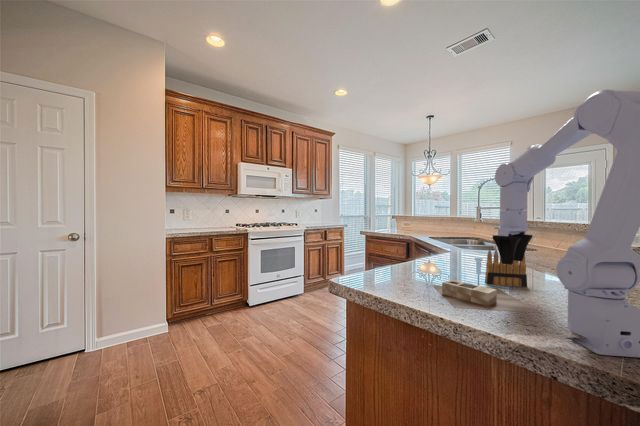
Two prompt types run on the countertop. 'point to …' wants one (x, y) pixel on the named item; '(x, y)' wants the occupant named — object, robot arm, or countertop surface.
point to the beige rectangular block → (470, 292)
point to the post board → (502, 304)
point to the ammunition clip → (505, 272)
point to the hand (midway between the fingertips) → (512, 262)
